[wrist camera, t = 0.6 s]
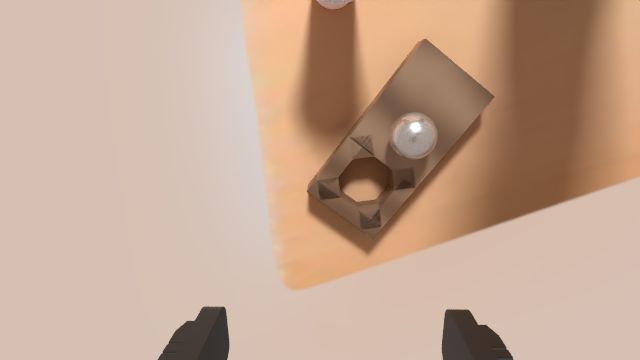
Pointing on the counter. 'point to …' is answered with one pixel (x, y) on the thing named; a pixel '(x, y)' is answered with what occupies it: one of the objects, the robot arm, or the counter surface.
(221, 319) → the robot arm
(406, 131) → the ball
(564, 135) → the counter surface
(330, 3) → the smoothie
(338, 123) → the counter surface
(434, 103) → the brown ball holder
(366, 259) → the counter surface
